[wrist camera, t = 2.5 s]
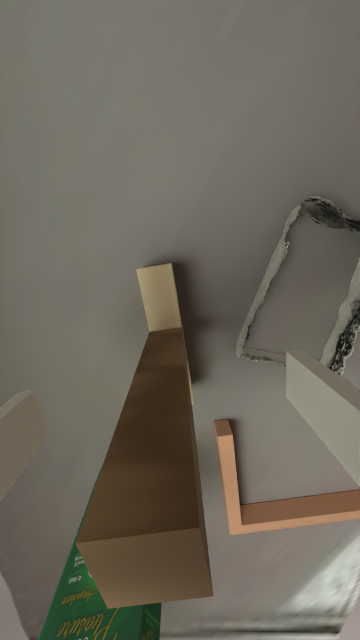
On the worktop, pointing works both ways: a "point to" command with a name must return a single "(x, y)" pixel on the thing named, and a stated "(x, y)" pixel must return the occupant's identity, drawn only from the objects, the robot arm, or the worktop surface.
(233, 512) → the tile bay
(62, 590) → the coffee box
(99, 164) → the worktop surface
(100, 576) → the wooden scraper
